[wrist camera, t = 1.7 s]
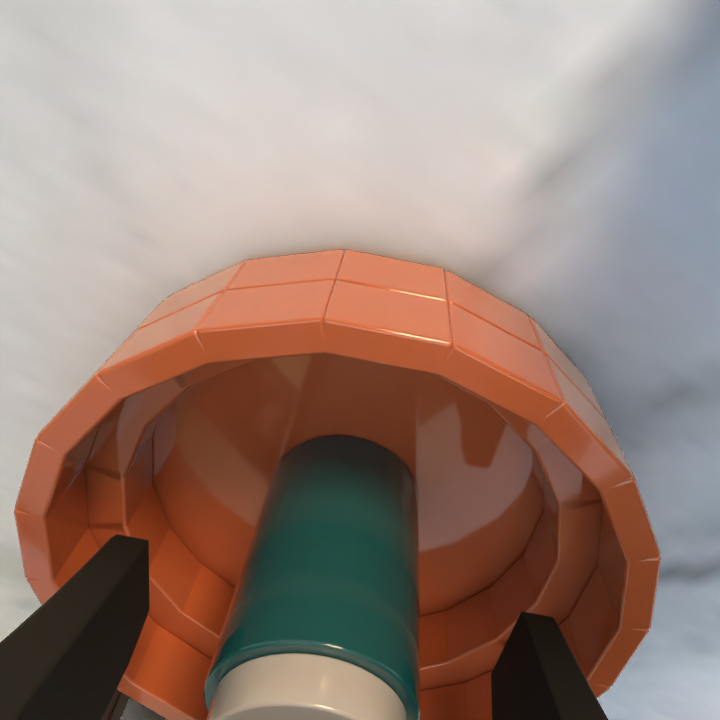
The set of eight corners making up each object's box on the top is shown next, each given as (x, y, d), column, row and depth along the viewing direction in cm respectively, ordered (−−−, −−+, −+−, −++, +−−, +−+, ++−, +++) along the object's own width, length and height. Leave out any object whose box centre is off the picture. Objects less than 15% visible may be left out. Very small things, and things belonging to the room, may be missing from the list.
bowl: (111, 597, 17) (47, 717, 14) (87, 190, 11) (-33, 248, 8) (512, 672, 18) (532, 807, 15) (699, 310, 12) (800, 410, 8)
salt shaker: (264, 533, 15) (183, 800, 10) (278, 420, 13) (188, 675, 8) (401, 558, 15) (393, 839, 10) (434, 450, 13) (446, 723, 8)
